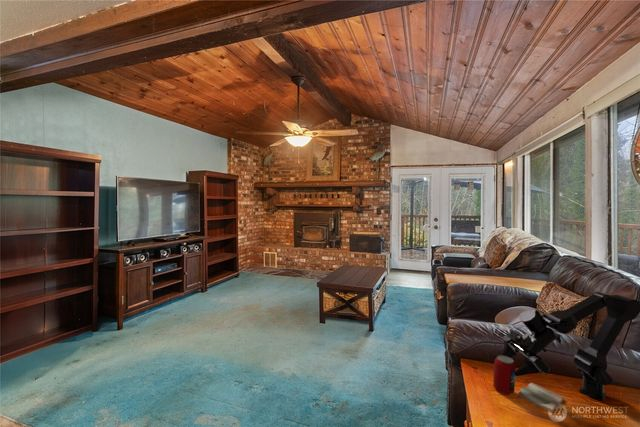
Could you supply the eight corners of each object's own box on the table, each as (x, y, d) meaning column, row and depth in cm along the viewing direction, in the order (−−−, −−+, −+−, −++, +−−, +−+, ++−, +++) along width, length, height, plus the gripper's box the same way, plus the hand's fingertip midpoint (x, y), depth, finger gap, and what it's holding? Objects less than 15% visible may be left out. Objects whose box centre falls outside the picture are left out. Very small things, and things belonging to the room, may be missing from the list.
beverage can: (517, 397, 105) (519, 365, 105) (497, 394, 106) (499, 362, 106) (509, 386, 112) (511, 355, 111) (490, 383, 113) (491, 353, 113)
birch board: (529, 384, 113) (529, 381, 113) (563, 399, 105) (563, 396, 105) (516, 395, 106) (516, 392, 106) (551, 413, 97) (551, 409, 97)
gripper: (508, 315, 117) (479, 340, 118) (543, 335, 99) (508, 366, 99) (526, 335, 118) (497, 360, 118) (565, 359, 99) (530, 389, 99)
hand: (507, 367), depth 109 cm, fingers open, 9 cm apart
